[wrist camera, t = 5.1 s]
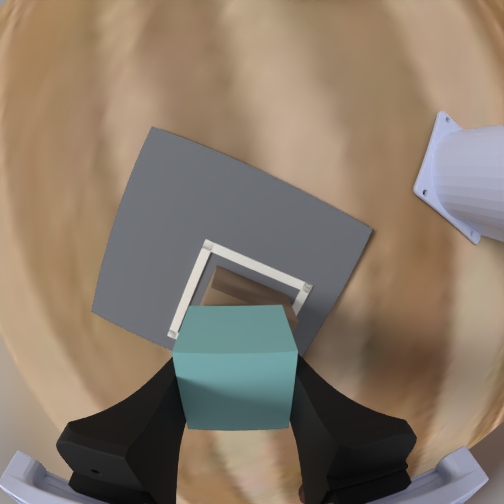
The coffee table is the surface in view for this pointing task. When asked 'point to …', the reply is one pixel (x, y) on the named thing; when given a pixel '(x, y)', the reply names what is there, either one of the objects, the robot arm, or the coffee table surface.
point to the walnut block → (244, 294)
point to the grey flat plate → (218, 240)
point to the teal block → (236, 367)
